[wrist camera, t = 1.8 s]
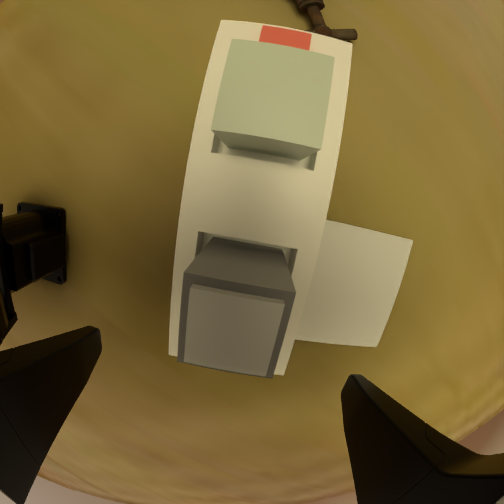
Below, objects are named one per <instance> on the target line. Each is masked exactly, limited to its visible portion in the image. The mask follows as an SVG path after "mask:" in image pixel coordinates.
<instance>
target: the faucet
mask: <svg viewBox="0 0 504 504" xmlns="http://www.w3.org/2000/svg"><path fill="white" fill-rule="evenodd" d="M296 2H297V4H298V6H299V9H300V11H301V12H305V13H308V14H309V16H310V19H311V21H312V24H313V27H314V29H313V30H303V31H308V32H312V33H316V34H320V35H324V36H328V37H332V38H335V39H344V40H356V39H357V32H356V30H355V29H330V28H329V27H327V26H326V25H325V22H324V19H323V17H322V15H321V12H320V10H322V9H323V8H324V7H325V5H324V3H323V1H322V0H296Z"/></svg>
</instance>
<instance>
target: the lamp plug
mask: <svg viewBox="0 0 504 504" xmlns="http://www.w3.org/2000/svg"><path fill="white" fill-rule="evenodd" d="M334 59H335V57H332V56H329V55H325V54H321V53H317V52H313V51H309V50H304V49H300V48H295V47H290V46H284V45H279V44H273V43H266V42H259V41H251V40H242V39H232V40H231V44H230V48H229V52H228V56H227V59H226V63H225V67H224V72H223V76H222V80H221V84H220V89H219V93H218V97H217V102H216V107H215V111H214V116H213V121H212V126H211V130H212V131H213V132H214V134H215V135H216V136H217V137H218V138H219V139H220V140H221V141H222V142H223V143H224V144H225V145H226V146H227V147H228V148H233V149H239V150H245V151H251V152H257V153H263V154H268V155H274V156H279V157H284V158H289V159H294V160H298V161H300V160H302V159H304V158H306V157H308V156H310V155H311V154H313V153H315V152H317V151H319V150H321V147H322V142H323V136H324V130H325V123H326V117H327V110H328V104H329V97H330V90H331V82H332V75H333V67H334Z"/></svg>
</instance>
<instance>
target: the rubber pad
mask: <svg viewBox="0 0 504 504" xmlns="http://www.w3.org/2000/svg"><path fill="white" fill-rule="evenodd" d="M412 243H413V240H411V239H407V238H403V237H399V236H395V235H392V234H387V233H383V232H379V231H375V230H371V229H367V228H363V227H358V226H354V225H350V224H345V223H341V222H336V221H332V220H327V219H326V221H325V226H324V230H323V235H322V239H321V243H320V248H319V252H318V256H317V260H316V264H315V268H314V272H313V276H312V280H311V284H310V288H309V292H308V295H307V299H306V303H305V306H304V310H303V314H302V317H301V321H300V324H299V327H298V331H297V334H296V338H295V340H303V341H312V342H321V343H330V344H341V345H353V346H366V347H377V345H378V343H379V340H380V338H381V336H382V333H383V331H384V328H385V326H386V323H387V321H388V318H389V315H390V313H391V310H392V307H393V305H394V302H395V299H396V296H397V293H398V290H399V287H400V284H401V281H402V278H403V275H404V272H405V268H406V265H407V261H408V258H409V254H410V251H411V247H412Z"/></svg>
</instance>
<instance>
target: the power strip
mask: <svg viewBox="0 0 504 504" xmlns="http://www.w3.org/2000/svg"><path fill="white" fill-rule="evenodd" d="M232 39H242V40H251V41H259V42H266V43H273V44H279V45H284V46H290V47H295V48H300V49H304V50H309V51H313V52H317V53H321V54H325V55H329V56H332V57H335V59H334V67H333V75H332V82H331V90H330V97H329V104H328V110H327V117H326V123H325V130H324V136H323V142H322V147H321V150H319V151H317V152H315V153H313V154H311V155H310V156H308V157H306V158H304V159H302V160H300V161H298V160H294V159H289V158H284V157H279V156H274V155H268V154H263V153H257V152H251V151H245V150H239V149H233V148H228V147H227V146H226V145H225V144H224V143H223V142H222V141H221V140H220V139H219V138H218V137H217V136H216V135H215V134H214V132H213V131H212V130H211V126H212V121H213V116H214V111H215V107H216V102H217V97H218V93H219V89H220V84H221V80H222V76H223V72H224V67H225V63H226V59H227V56H228V52H229V48H230V44H231V40H232ZM351 55H352V43H349V42H345V41H342V40H339V39H335V38H332V37H328V36H324V35H320V34H316V33H312V32H308V31H303V30H298V29H293V28H288V27H282V26H276V25H269V24H262V23H254V22H244V21H231V20H221V23H220V26H219V29H218V33H217V36H216V39H215V43H214V46H213V50H212V54H211V57H210V61H209V65H208V69H207V72H206V76H205V80H204V85H203V89H202V93H201V97H200V102H199V106H198V111H197V115H196V120H195V125H194V130H193V135H192V140H191V145H190V151H189V156H188V162H187V168H186V174H185V180H184V187H183V193H182V200H181V207H180V215H179V223H178V231H177V239H176V248H175V258H174V269H173V281H172V294H171V309H170V328H169V355H172V356H176V357H177V354H178V335H179V320H180V307H181V294H182V283H183V273H184V271H185V270H186V269H187V267H188V266H189V265H190V264H191V263H192V261H193V260H194V259H195V258H196V257H197V255H198V254H199V253H200V252H201V250H202V249H203V248H204V247H205V246H206V244H207V243H208V242H209V241H210V240H211V238H212V237H218V238H224V239H229V240H235V241H241V242H246V243H252V244H257V245H263V246H268V247H274V248H279V249H282V250H283V253H284V256H285V259H286V262H287V265H288V268H289V271H290V275H291V278H292V281H293V284H294V287H295V290H296V295H295V299H294V303H293V307H292V311H291V315H290V318H289V322H288V326H287V329H286V333H285V337H284V340H283V344H282V347H281V351H280V354H279V358H278V361H277V365H276V368H275V371H274V374H277V375H284V373H285V370H286V367H287V364H288V360H289V357H290V354H291V351H292V348H293V344H294V341H295V338H296V334H297V331H298V327H299V324H300V321H301V317H302V314H303V310H304V306H305V303H306V299H307V295H308V292H309V288H310V284H311V280H312V276H313V272H314V268H315V264H316V260H317V256H318V252H319V248H320V243H321V239H322V235H323V230H324V226H325V221H326V217H327V212H328V207H329V202H330V197H331V192H332V187H333V182H334V177H335V171H336V166H337V160H338V154H339V148H340V142H341V136H342V129H343V123H344V116H345V108H346V101H347V93H348V85H349V76H350V66H351Z"/></svg>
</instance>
